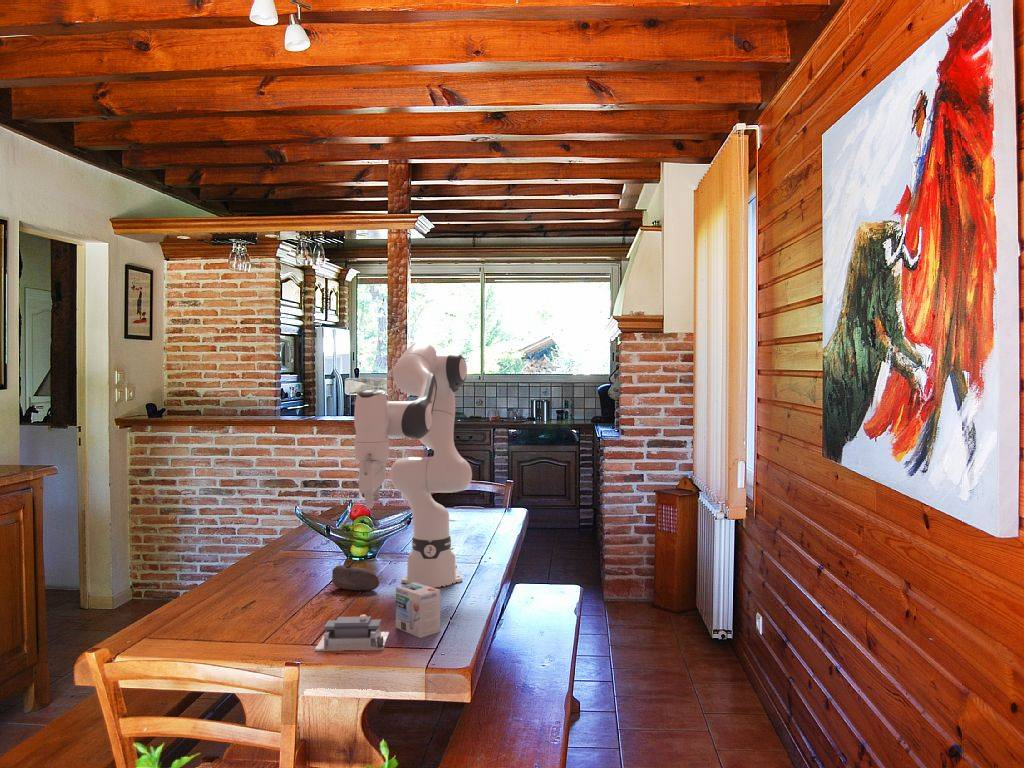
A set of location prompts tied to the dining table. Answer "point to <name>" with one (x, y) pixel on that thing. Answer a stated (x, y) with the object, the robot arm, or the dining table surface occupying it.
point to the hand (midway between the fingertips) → (372, 505)
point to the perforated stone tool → (354, 578)
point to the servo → (353, 626)
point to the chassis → (353, 641)
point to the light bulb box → (418, 609)
